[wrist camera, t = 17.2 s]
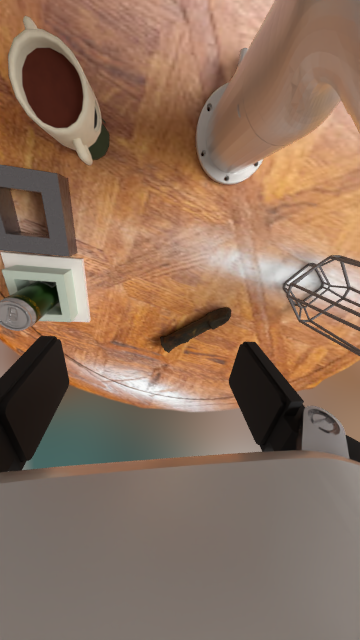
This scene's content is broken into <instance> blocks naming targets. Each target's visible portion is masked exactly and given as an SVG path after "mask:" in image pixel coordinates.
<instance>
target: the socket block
mask: <svg viewBox="0 0 360 640" xmlns="http://www.w3.org/2000/svg"><path fill="white" fill-rule="evenodd" d="M10 189H13V190H21V191H28V192H35V193H41V194H42V199H43V204H44V210H45V215H46V220H47V226H48V231H49V235H41V234H32V233H23V232H21V231H20V227H19V223H18V219H17V215H16V211H15V207H14V203H13V199H12V195H11V191H10ZM0 250H4V251H15V252H26V253H37V254H48V255H59V256H72V255H74V254H76V253H77V246H76V239H75V231H74V223H73V215H72V207H71V200H70V192H69V184H68V178H66V177H63V176H61V175H59V174H57V173H50V172H44V171H38V170H31V169H25V168H18V167H12V166H6V165H0Z"/></svg>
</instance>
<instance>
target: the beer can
mask: <svg viewBox="0 0 360 640" xmlns="http://www.w3.org/2000/svg"><path fill="white" fill-rule="evenodd" d="M59 302H60V301H59V296H58V291H57V285H56V282H48V281H36V282H34V283H32V284H31V285H29V286H27V287H25V288H23V289H21V290H19V291H18V292H16V293H14V294H12V295H10V296H8V297H6V298H4V299H3V300H1V301H0V324H1V325H2V326H4V327H5V328H7V329H11V330H16V331H20V330H24V329H26V328H29V327H31V326H33V325H34V324H35V323H36V322H37V321H38V320H39V319H41V318H42V317H43V316H44V315H45V314H46V313H47V312H48V311H50V310H51V309H52V308H53V307H54V306H55V305H56V304H58V303H59Z"/></svg>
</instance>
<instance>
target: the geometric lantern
mask: <svg viewBox="0 0 360 640" xmlns="http://www.w3.org/2000/svg"><path fill="white" fill-rule="evenodd" d="M329 259H332V260H330V261H328V262H326V261H327V260H329ZM334 260H337V261H340V263H341V267H342V270H343V274H344V277H345V281H346V284H347V287H345V286H334V285H330V283H329V281H328V279H327V277H326V275H325V273H324V271H323V269H322V268H321V266H323V265H325V264H327V263H330V262H332V261H334ZM324 262H326V263H324ZM323 263H324V264H323ZM344 263H347V264H351V265H354V266H358V267H360V262H359V261H356V260H353V259H350V258H347V257H344V256H341V255H331V256H329V257H327V258H326V259H324V260H323V261H321V262H320V263H319V264H317V265H316V264H314V263H311V264H308V265H307V266H305V267H304V268H303V269H302V270H300V271H299V272H298V273H297V274H295V275H294V276H293V277H292V278H290V279H289V280H288V281H287V282H285V283H284V290H285V291H286V293H287V298H288V300H289V302H290V304H291V306H292V308H293V310H294V313H295V315H296V317H297V319H298V321H299V322H300V323H302V324H304V325H306V326H307V327H309V328H311V329H313V330H314V331H316V332H318V333H320V334H321V335H323V336H325V337H327V338H328V339H330V340H332V341H334V342H336V343H337V344H339V345H341V346H343V347H344V348H346V349H348V350H350V351H351V352H353V353H355V354H357V355H358V356H360V349H358V348H356V347H355V346H353V345H351V344H350V343H348V342H346V341H345V340H343V339H341V338H340V337H338V336H336V335H335V334H333V333H331V332H330V331H328V330H327V329H325V328H323V327H322V326H320V325H318V324H317V323H315V322H313V321H312V320H314V319H315V318H317V317H318V316H320V315H321V314H325V315H327V316H329V317H331V318H333V319H335V320H337V321H339V322H341V323H343V324H346V325H348V326H350V327H352V328H354V329H356V330H358V331H360V327H358V326H356V325H354V324H352V323H349V322H347V321H345V320H343V319H341V318H339V317H336V316H334V315H332V314H330V313H328V312H326V311H327V310H329V309H330V308H332V307H333V306H337V307H339V308H341V309H343V310H346V311H348V312H350V313H352V314H354V315H356V316H358V317H360V313H359V312H356V311H354V310H352V309H350V308H347V307H345V306H343V305H341V304H339V302H341V301H342V300H345V301H347V302H350V303H352V304H354V305H356V306H358V307H360V304H358V303H356V302H354V301H351V300H349V299H347V298H345V297H346V296H347V294H348V292H349V290H352V291H354V292H356V293H359V294H360V291H358V290H356V289H354V288H352V287H350V283H349V280H348V276H347V273H346V269H345V265H344ZM308 266H311V267H313V268H311V269H310V270H308V271H307V272H306V273H304V274H303V275H301V276H300V277H298V278H297V279H296V280H294V281H293V282H291V283H290V284H289V285H288V284H287V283H288V282H289V281H290V280H292V279H293V278H294V277H295V276H297V275H298V274H299V273H300V272H302V271H303V270H304V269H305V268H307V267H308ZM317 267H319V268H320V270H321V272H322V274H323V276H324V278H325V279H326V281H327V283H325V282H324V281H323V279H322V277H321V275H320V273H319V271H318V269H317ZM314 269H315V270H316V271H317V273H318V275H319V277H320V279H321V281H322V287H321V288H319V289H318V290H317V291H315V292H312V291H310V290H307V289H305V288H303V287H301V286H298V285H296V284H297V283H298V282H299V281H300V280H302V279H303V278H304V277H305V276H307V275H308V274H309V273H310V272H312V271H313V270H314ZM324 284H326V285H328V288H326V287H323V286H324ZM286 285H287V286H289V288H288V289H287V288H285V287H286ZM293 286H294V287H296V288H298V289H301V290H303V291H305V292H307V293H309V294H311V295H310V296H309V297H308V298H306V299H305V300H304V301H302V300H300V299H297V298H296V297H295V296H294V294H293V293H292V291H291V288H292V287H293ZM330 287H338V288H347V290H346V292H345V294H344V295H343V297H342V296H340V295H339V294H337V293H335V292H333V291H332V290H330V289H329V288H330ZM322 288H324V289H326V290H325V291H324V292H322V293H321V294H320V295H319V294H316V293H317V292H318V291H319V290H321V289H322ZM326 291H330V292H332V293H334V294H335V295H337V296H339V297H340V298H341V299H339V300H338V301H336V302H334V301H332V300H330V299H327V298H325V297H323V296H321V295H322V294H324V293H325V292H326ZM290 293H291V294H292V296H290ZM311 296H316V298H315V299H314V300H312V301H311V302H310V303H309V304H308V303H306V302H305V301H306V300H307V299H309V298H310V297H311ZM317 298H320V299H322V300H324V301H326V302H328V303H331V304H332V305H330V306H329V307H327V308H326V309H324V310H321V309H319V308H317V307H315V306H313V305H310V304H311V303H312V302H314V301H315V300H316V299H317ZM293 300H295V301H296V302H297V304H295V302H294V301H293ZM299 302H300V304H299ZM293 303H294V304H293ZM302 304H304V305H306V306H304V305H302ZM294 305H295V306H298V307H300V312H299V315H298V313H297V311H296V309H295V307H294ZM301 306H302V307H301ZM307 306H308V307H310V308H312V309H314V310H316V311H318V312H320V313H318V314H317V315H315V316H314V317H312V318H311V319H310V318H309V316H308V313H307V311H306V307H307ZM302 308H304V310H305V313H306V315H307V318H308V320H301V319H300V318H301V310H302ZM305 322H311V323H312V324H314V325H315V326H317V327H319V328H320V329H322V330H323V331H325V332H327V333H328V334H330V335H331V336H333V337H335V338H336V339H338V340H339V341H341V342H343V343H344V344H343V343H341V342H339V341H338V340H336V339H334V338H332V337H330V336H329V335H327V334H325V333H323V332H321V331H319V330H318V329H316V328H314V327H312V326H310V325H309V324H307V323H305ZM345 344H346V345H345ZM348 346H349V347H348ZM350 347H351V348H350Z"/></svg>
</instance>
